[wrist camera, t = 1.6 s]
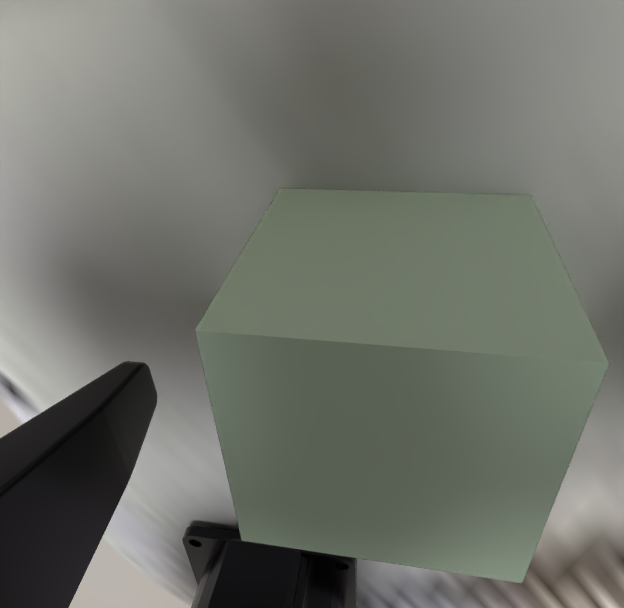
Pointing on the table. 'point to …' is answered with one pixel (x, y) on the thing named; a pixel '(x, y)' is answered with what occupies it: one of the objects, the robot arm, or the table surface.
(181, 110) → the table surface
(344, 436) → the cube
